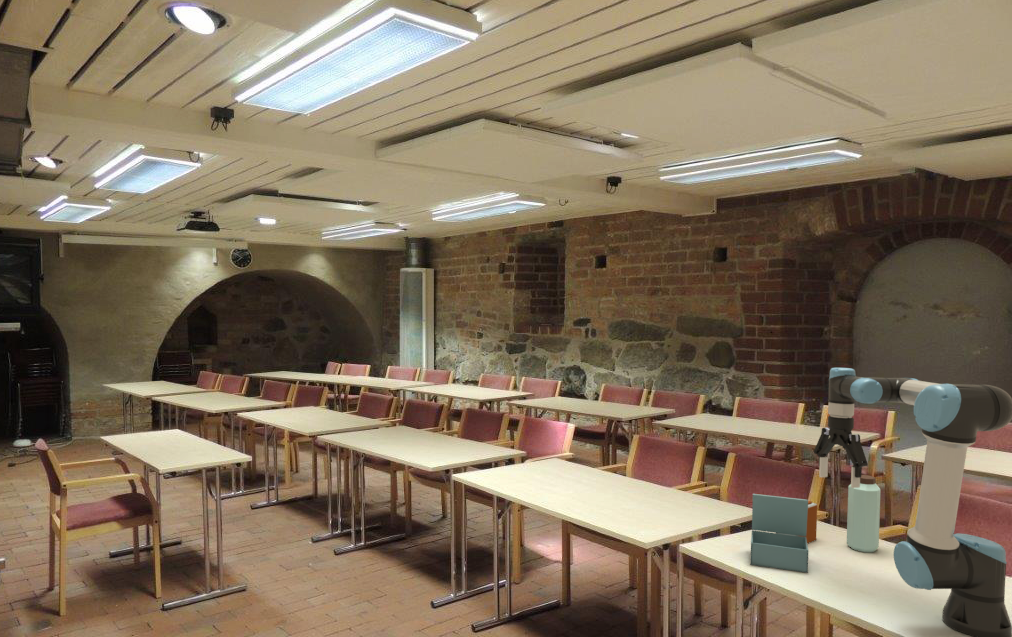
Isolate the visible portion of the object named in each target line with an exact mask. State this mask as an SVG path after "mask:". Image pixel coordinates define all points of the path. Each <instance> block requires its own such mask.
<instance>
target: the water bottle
mask: <svg viewBox="0 0 1012 637" xmlns="http://www.w3.org/2000/svg"><path fill="white" fill-rule="evenodd" d="M876 479H877V478H876V477H875V476H873V475H867V474H861V478H860V487H859V488H851V483H850V484H849V485H848V486H847V488H848V489H847V490H848V491H847V492H848V493H847V518H846V520H847V522H846V545H847V546H848V548H850V547H851V548H850V549H852V550H853V549H854V550H853V551H857V550H858V551H857V552H861V553H874V552H876V550H877V549H878V548H879V544H880V517H881V514H880V513H881V488H880V487H879V485H878V484H877V483H876V482H877V481H876Z"/></svg>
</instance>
